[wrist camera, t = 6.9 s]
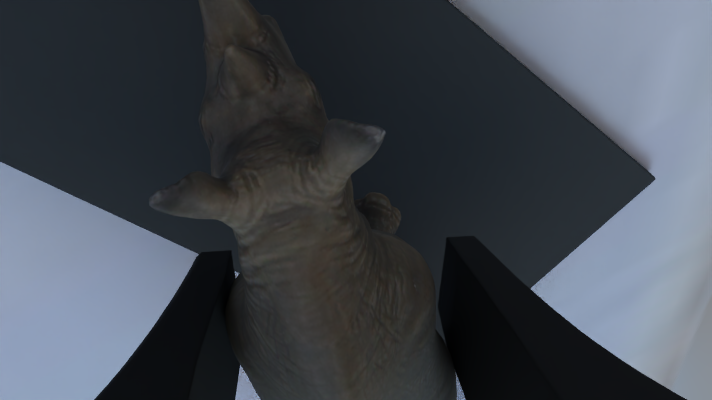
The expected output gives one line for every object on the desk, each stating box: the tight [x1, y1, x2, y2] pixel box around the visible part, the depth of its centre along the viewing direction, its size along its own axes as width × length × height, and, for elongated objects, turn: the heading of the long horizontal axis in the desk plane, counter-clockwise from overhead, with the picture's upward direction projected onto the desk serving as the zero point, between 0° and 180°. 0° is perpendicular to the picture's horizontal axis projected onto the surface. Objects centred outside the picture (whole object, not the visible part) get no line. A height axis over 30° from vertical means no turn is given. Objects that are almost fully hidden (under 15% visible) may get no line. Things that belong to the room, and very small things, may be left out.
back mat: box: [0, 0, 655, 346], centre depth 17 cm, size 20×11×1 cm, turn 52°
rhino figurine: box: [149, 0, 457, 400], centre depth 11 cm, size 4×14×6 cm, turn 12°
